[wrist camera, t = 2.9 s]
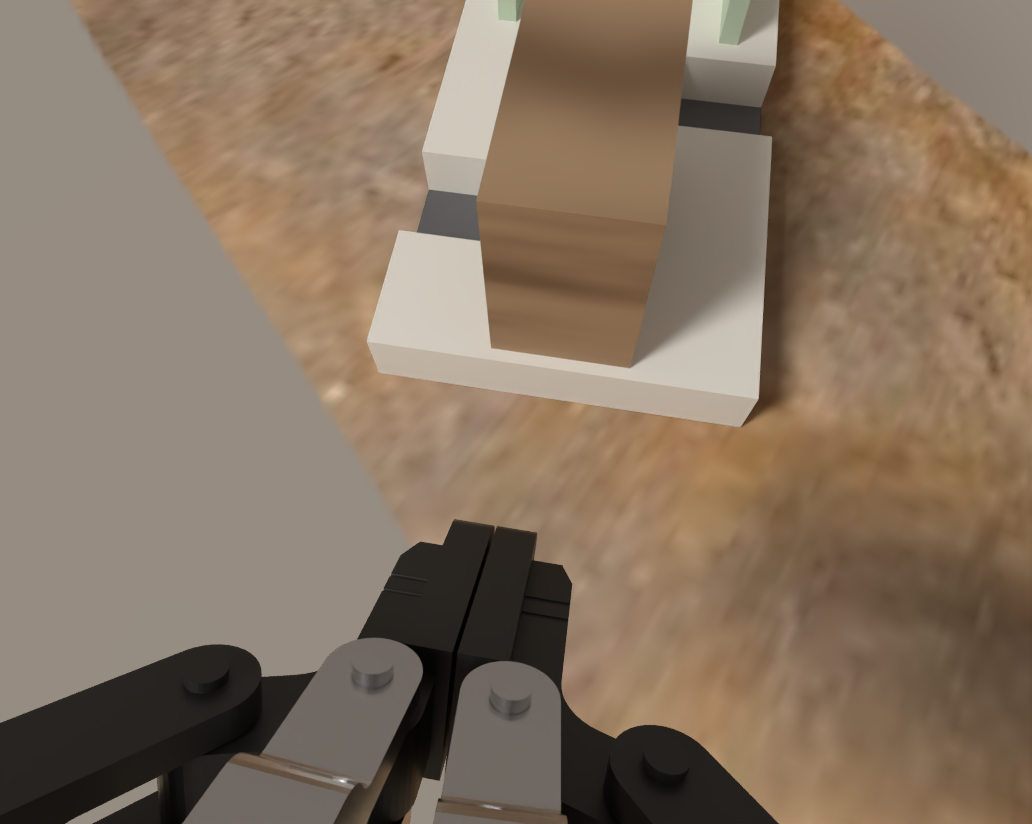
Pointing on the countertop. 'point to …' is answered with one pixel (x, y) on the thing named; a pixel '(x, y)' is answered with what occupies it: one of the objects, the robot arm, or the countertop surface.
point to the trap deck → (683, 254)
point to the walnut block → (581, 175)
